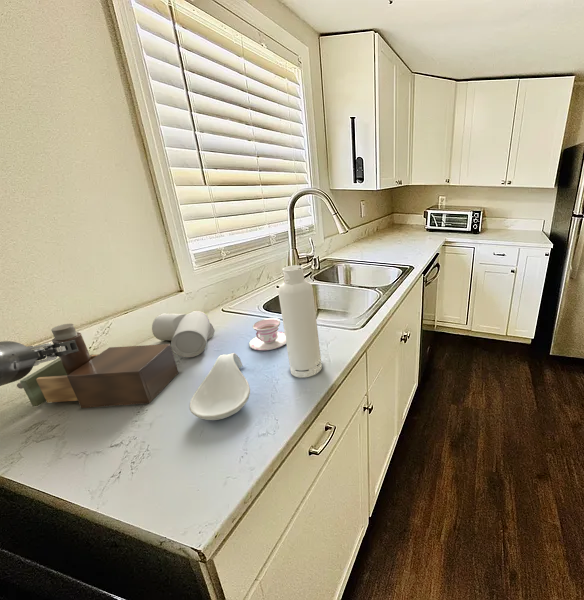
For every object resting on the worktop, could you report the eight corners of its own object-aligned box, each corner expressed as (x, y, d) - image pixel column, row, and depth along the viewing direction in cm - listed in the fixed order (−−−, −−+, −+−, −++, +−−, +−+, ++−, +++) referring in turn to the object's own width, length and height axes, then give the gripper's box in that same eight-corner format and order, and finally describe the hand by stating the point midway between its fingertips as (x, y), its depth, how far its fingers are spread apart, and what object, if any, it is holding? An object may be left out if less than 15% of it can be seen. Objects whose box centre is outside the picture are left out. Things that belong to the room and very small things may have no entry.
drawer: (12, 408, 72) (-2, 382, 70) (57, 378, 83) (46, 355, 81) (97, 402, 74) (86, 376, 72) (131, 373, 85) (122, 350, 82)
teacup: (266, 331, 109) (262, 314, 106) (297, 335, 106) (295, 318, 103) (240, 348, 98) (236, 330, 96) (274, 353, 95) (271, 334, 93)
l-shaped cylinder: (235, 327, 108) (180, 326, 110) (225, 301, 102) (166, 300, 104) (204, 366, 94) (140, 363, 96) (190, 338, 88) (122, 336, 90)
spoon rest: (251, 420, 69) (245, 392, 66) (188, 436, 65) (178, 406, 63) (255, 364, 90) (251, 341, 87) (207, 373, 86) (201, 349, 83)
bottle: (285, 369, 87) (268, 268, 77) (311, 357, 93) (299, 261, 82) (300, 381, 82) (284, 274, 72) (327, 368, 87) (316, 267, 77)
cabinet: (81, 408, 73) (66, 376, 70) (120, 376, 85) (109, 347, 82) (149, 403, 75) (138, 371, 72) (178, 372, 86) (170, 343, 83)
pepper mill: (68, 391, 76) (40, 332, 70) (84, 379, 80) (60, 323, 75) (90, 390, 76) (64, 331, 71) (105, 378, 81) (82, 321, 75)
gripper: (36, 332, 57) (82, 326, 71) (-84, 358, 51) (-7, 346, 66) (50, 373, 57) (93, 358, 72) (-66, 403, 52) (6, 381, 67)
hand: (45, 352), depth 69 cm, fingers open, 8 cm apart
